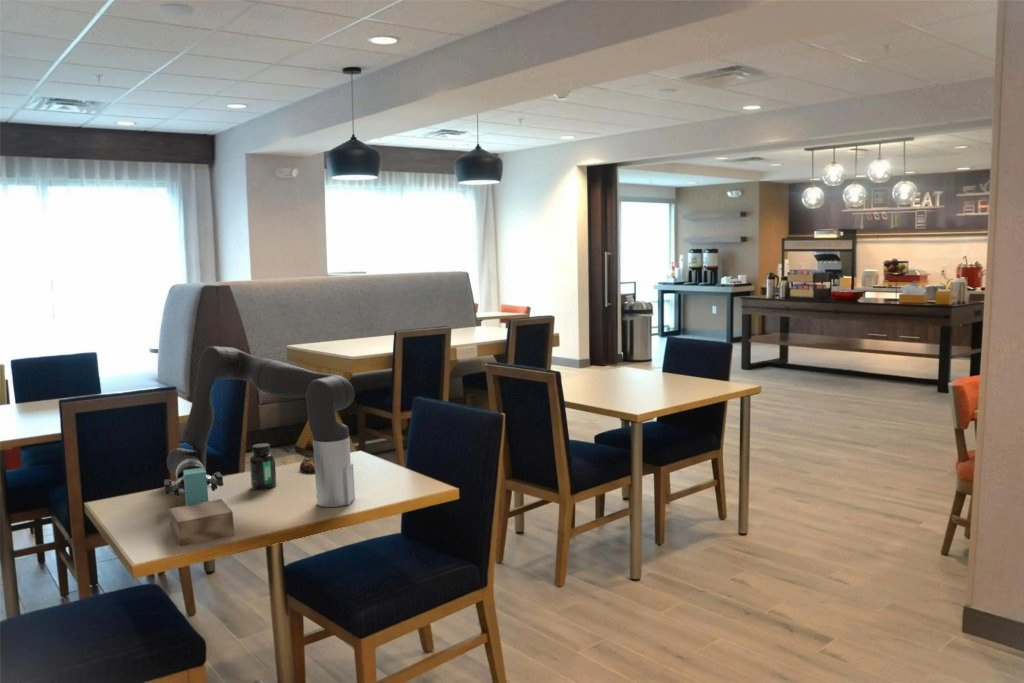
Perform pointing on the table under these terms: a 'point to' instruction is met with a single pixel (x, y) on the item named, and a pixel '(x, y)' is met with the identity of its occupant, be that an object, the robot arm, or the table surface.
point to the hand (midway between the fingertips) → (195, 489)
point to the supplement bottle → (262, 467)
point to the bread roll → (308, 465)
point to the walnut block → (201, 522)
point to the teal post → (195, 486)
